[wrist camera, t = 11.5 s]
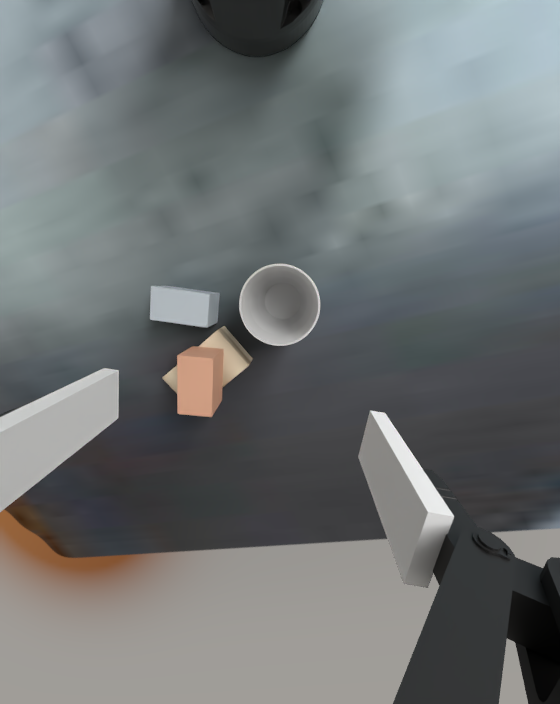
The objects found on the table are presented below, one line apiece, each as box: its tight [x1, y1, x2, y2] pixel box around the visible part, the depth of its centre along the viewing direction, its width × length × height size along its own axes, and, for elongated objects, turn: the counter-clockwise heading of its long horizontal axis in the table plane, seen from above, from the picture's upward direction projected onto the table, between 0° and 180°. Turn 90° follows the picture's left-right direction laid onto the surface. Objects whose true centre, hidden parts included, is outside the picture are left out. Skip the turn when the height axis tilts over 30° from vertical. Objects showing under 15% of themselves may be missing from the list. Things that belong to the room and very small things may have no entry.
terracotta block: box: [177, 346, 224, 417], centre depth 35 cm, size 7×4×5 cm, turn 176°
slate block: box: [150, 286, 220, 328], centre depth 37 cm, size 7×4×5 cm, turn 82°
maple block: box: [163, 326, 253, 393], centre depth 39 cm, size 10×6×4 cm, turn 130°
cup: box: [239, 264, 320, 346], centre depth 34 cm, size 8×8×10 cm
